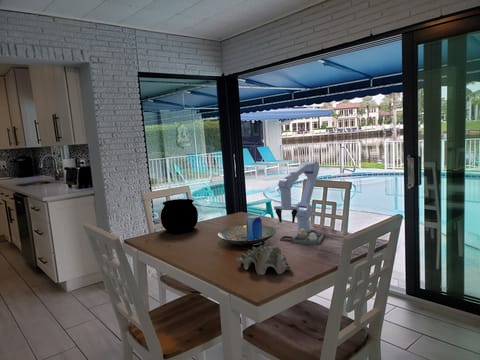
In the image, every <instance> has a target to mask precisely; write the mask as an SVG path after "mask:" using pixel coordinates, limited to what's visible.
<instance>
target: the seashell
mask: <svg viewBox="0 0 480 360" xmlns="http://www.w3.org/2000/svg"><path fill="white" fill-rule="evenodd" d="M234 260H235V261H236V262H237V263H240V265H242V264H243V269H244V270H246V271H247V270H248V269H249V267H250V266H251V264H252V263H253V264H254V266H255V267H254V268H255V271H256V272H255V273H257V275H262V276H264V275H265V274H266V272H267V269H268V267H271V268H273V269H274V270H275V272H276V273H277V275H281V274H284V273H285V271H286V270H289V269H290V270H292V266H291V265H290V263H288V262H287V257H285V254H283V255H282V249H281V248H279V247H278V246H277V247H274V246H269V243H267V242H264V244H259V246H258V247H255V246H252V247H251V249H247V251H245V252H244V253H240V258H239V257H236V258H235V259H234Z"/></svg>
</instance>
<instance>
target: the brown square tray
mask: <svg viewBox="0 0 480 360" xmlns="http://www.w3.org/2000/svg"><path fill="white" fill-rule="evenodd" d="M294 237H295V236H293V235H291V236H290V235H283V236H281V237H280V238H279V241H280V242H290V243H291V240H292V239H293V238H294Z"/></svg>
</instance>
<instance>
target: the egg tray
mask: <svg viewBox="0 0 480 360" xmlns="http://www.w3.org/2000/svg"><path fill="white" fill-rule="evenodd" d="M299 233H300V232H298V233H296V234H295V236H294V238H293V239H292V240H291V242H290V243H291V244H303V245H305V244H306V245H315V246H316V245H320V243H321V242H322V240H323V239H324V237H325V234H323V233H315V234H316V237H317V241H309V239H308V238H309V235H310V233H311V232H310V233H309V232H307V237H303V236H299Z"/></svg>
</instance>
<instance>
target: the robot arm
mask: <svg viewBox="0 0 480 360" xmlns="http://www.w3.org/2000/svg"><path fill="white" fill-rule="evenodd" d="M320 168H321V167H320V165H319V162H318V161H305V160H304V161H302V162H301V163H300V166H299V167H298V168H297V169H296V170H294V171H290V172H289V173H288V174H287V175H286V176H285V177H284V178H280V180H278V184H277V185H278V188H279V192H280V203H281V205H278V206H277V205H274V206H273V210H274V211H275V212H274V213H275V214H276V216H277V218H278V221H279V223H283V220H282V219H283V217H282V211H291V217H292V218H291V222H292V224H294V223H295V220H296V223H297V224H296V225H297V226H296V227H297V232H298V233H300V230H301V229H305V230H306V232H307V233H309V232H311V231H312V229H311V220H310V219H311V217H312V214H313V206H312V204H310V202H311V199H312V196H313V193H314V192H313V191H314V188H315V185H316V180H317V177H318V176H319V172H320ZM302 174H303V175H304V176H305V177H306V178H307V179H306V182H305V185H304V188H303V193H302V197H301V198H300V199H301V200H300V201H299V202H298V203H296V206H292V192H291V191H292V190H291V189H292V188H293V186H294V184H295V183H296V181H298V180H299V177H300V176H302Z"/></svg>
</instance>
